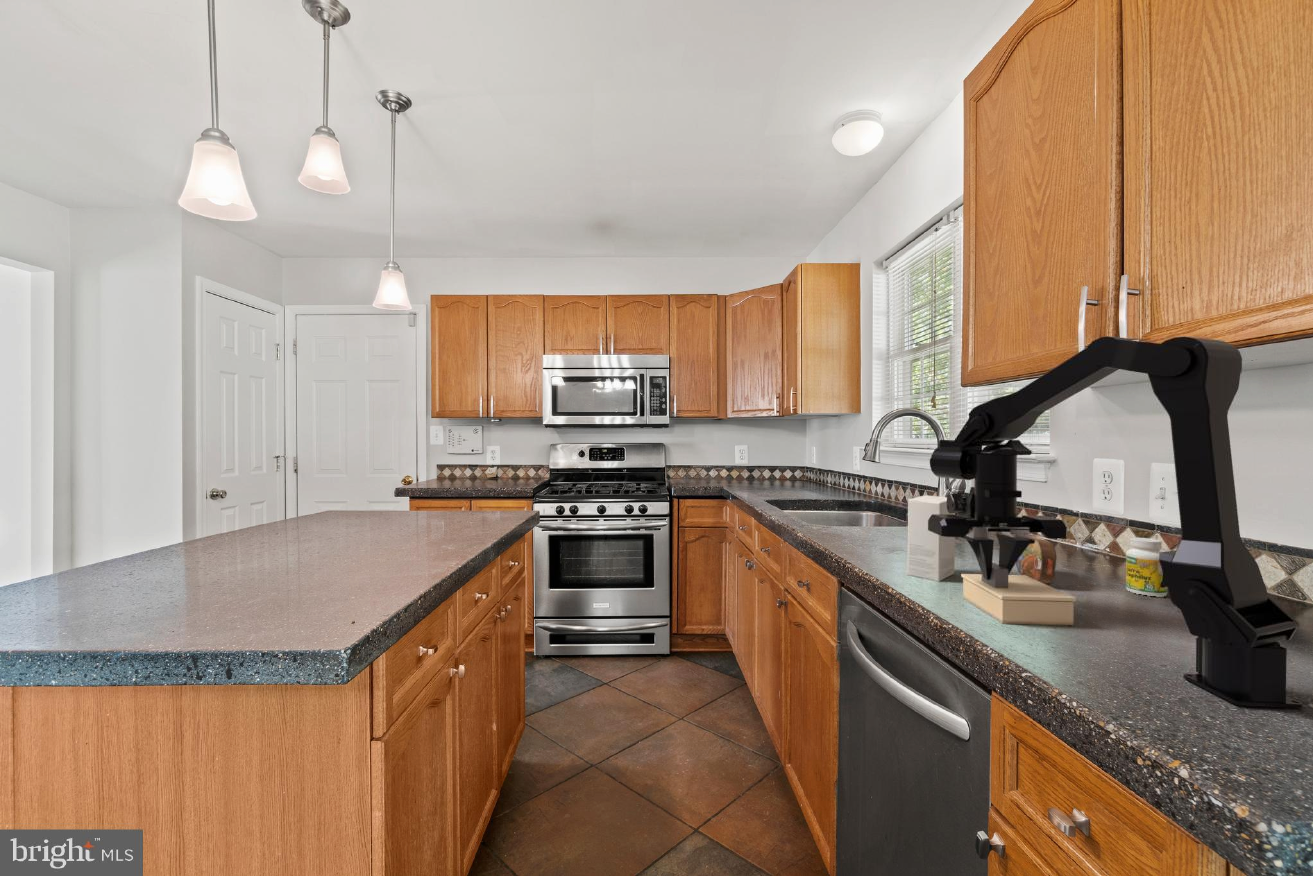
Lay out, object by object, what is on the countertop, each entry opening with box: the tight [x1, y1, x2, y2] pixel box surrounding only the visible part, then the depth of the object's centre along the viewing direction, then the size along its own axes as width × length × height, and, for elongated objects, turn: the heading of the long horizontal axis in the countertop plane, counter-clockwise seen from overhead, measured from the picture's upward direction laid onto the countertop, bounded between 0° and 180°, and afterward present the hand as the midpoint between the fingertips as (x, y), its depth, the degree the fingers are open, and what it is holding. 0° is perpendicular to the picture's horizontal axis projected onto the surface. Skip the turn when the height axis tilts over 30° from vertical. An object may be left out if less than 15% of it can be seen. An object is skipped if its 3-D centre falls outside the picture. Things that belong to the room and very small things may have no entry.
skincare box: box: [906, 494, 956, 582], centre depth 106 cm, size 8×7×16 cm
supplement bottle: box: [1125, 537, 1168, 598], centre depth 94 cm, size 5×5×10 cm
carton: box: [962, 577, 1075, 626], centre depth 85 cm, size 12×10×4 cm
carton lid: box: [960, 562, 1077, 602], centre depth 85 cm, size 12×10×4 cm
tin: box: [1015, 534, 1057, 586], centre depth 103 cm, size 15×3×8 cm, turn 161°
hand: (994, 579), depth 85 cm, fingers closed on carton lid, 2 cm apart
